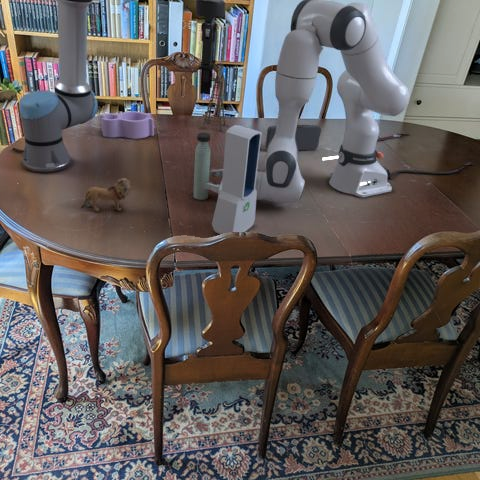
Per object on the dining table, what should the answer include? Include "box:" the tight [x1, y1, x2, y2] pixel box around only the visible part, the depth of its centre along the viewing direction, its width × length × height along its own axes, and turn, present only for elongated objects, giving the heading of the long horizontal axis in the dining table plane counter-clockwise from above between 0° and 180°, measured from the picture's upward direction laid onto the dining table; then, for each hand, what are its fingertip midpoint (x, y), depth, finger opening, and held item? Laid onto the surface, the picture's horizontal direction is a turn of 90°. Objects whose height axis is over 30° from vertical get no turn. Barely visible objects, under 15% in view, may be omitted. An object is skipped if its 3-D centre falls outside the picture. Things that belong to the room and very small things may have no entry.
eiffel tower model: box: [202, 55, 226, 132], centre depth 198 cm, size 9×8×30 cm
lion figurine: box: [80, 177, 132, 212], centre depth 136 cm, size 15×5×9 cm, turn 110°
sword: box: [377, 133, 409, 142], centre depth 213 cm, size 31×3×1 cm, turn 126°
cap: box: [196, 132, 211, 143], centre depth 139 cm, size 4×4×2 cm
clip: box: [100, 110, 155, 140], centre depth 188 cm, size 20×12×7 cm, turn 109°
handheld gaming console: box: [264, 124, 322, 151], centre depth 189 cm, size 23×3×10 cm, turn 108°
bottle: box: [192, 141, 212, 201], centre depth 145 cm, size 5×5×20 cm
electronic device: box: [211, 124, 263, 235], centre depth 127 cm, size 12×8×30 cm, turn 148°
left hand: (206, 90), depth 132 cm, fingers open, 6 cm apart
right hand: (208, 178), depth 146 cm, fingers open, 8 cm apart
